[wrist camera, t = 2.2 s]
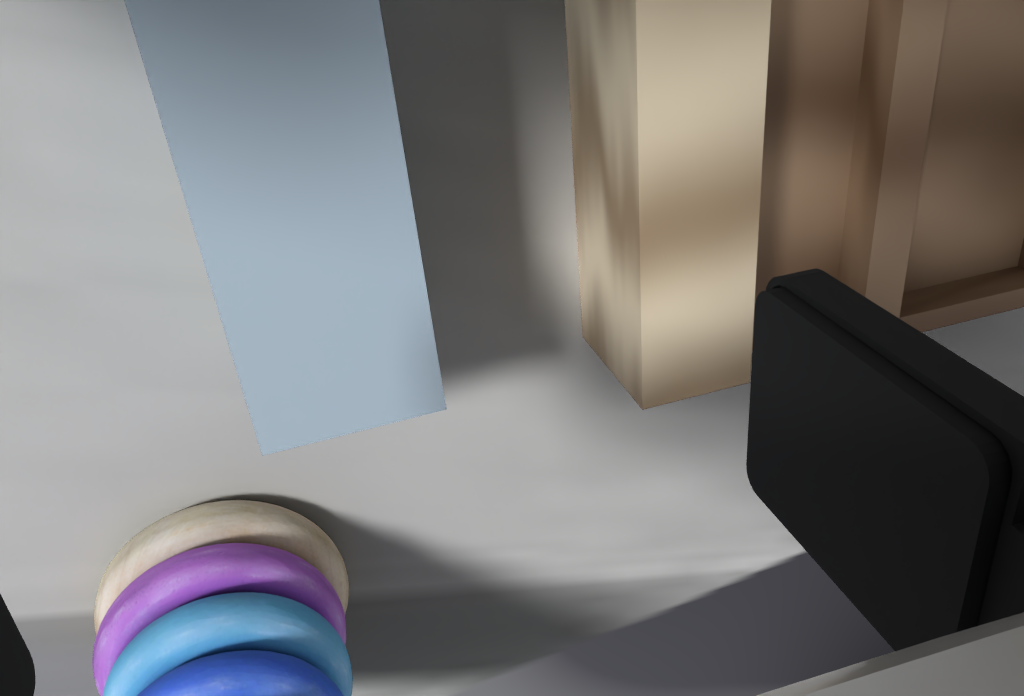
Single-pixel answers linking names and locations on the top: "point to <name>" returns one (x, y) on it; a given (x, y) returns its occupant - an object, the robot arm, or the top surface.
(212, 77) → the light blue rectangular block
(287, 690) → the stacking toy
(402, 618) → the top surface
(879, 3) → the cradle jig
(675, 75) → the beige rectangular block
